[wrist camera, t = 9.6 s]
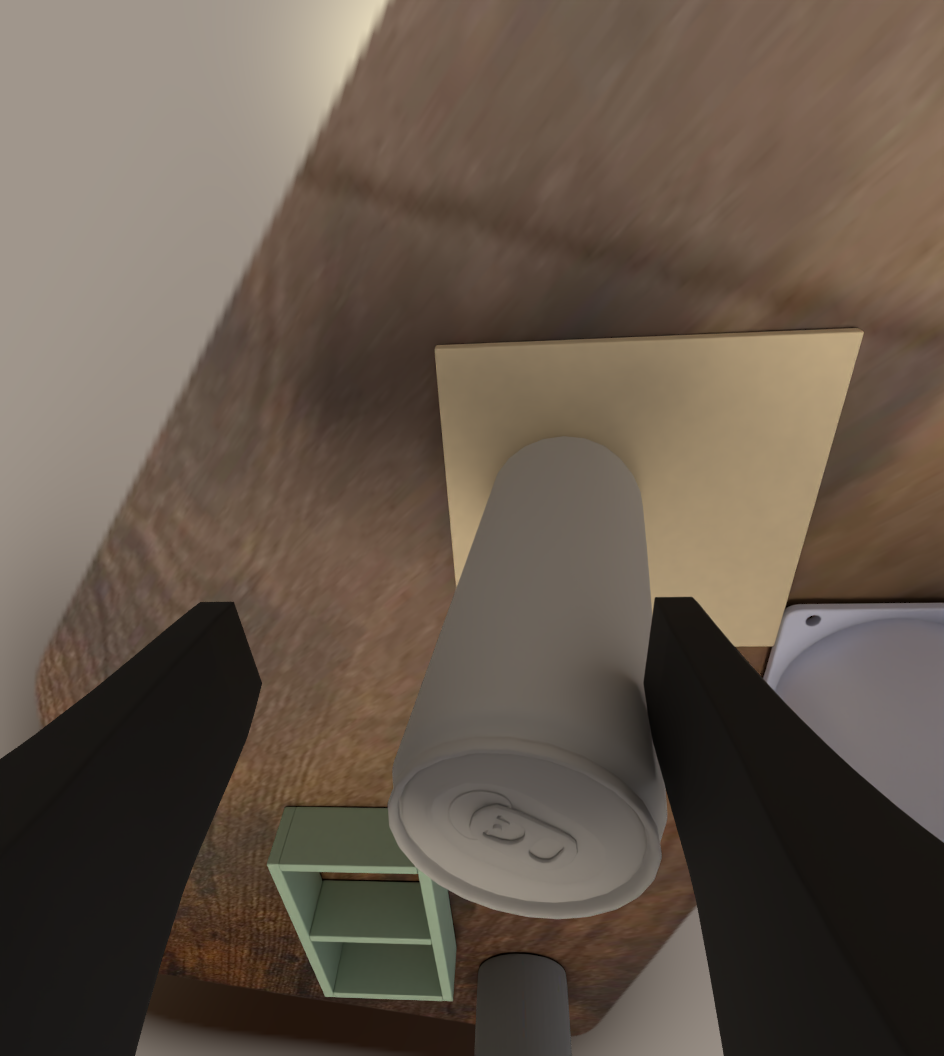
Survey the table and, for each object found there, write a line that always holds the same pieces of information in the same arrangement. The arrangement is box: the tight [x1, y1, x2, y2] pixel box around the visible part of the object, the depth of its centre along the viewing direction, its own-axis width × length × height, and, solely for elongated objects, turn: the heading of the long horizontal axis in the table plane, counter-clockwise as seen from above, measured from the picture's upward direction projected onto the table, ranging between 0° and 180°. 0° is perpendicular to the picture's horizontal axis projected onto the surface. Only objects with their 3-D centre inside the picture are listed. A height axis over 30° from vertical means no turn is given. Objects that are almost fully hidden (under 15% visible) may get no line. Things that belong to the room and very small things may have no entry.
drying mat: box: [434, 328, 864, 647], centre depth 21 cm, size 12×12×1 cm
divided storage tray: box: [267, 807, 456, 1001], centre depth 35 cm, size 8×15×3 cm, turn 3°
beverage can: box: [388, 436, 667, 919], centre depth 15 cm, size 5×5×12 cm
